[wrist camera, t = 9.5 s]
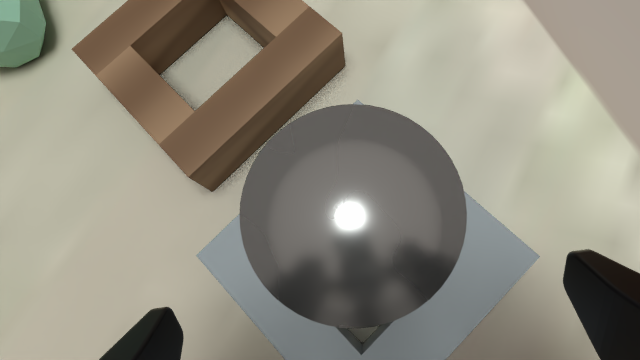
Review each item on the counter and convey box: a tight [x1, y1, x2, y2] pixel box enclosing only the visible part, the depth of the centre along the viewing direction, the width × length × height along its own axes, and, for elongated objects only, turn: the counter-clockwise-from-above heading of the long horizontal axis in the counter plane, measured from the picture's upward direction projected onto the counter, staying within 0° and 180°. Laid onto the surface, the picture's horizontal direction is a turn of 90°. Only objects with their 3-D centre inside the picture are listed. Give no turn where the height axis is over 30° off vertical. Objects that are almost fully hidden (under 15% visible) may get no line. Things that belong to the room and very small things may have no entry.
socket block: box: [196, 100, 540, 360], centre depth 18 cm, size 10×10×3 cm
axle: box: [239, 104, 467, 328], centre depth 13 cm, size 3×3×14 cm
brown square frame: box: [72, 0, 345, 192], centre depth 22 cm, size 10×10×3 cm
